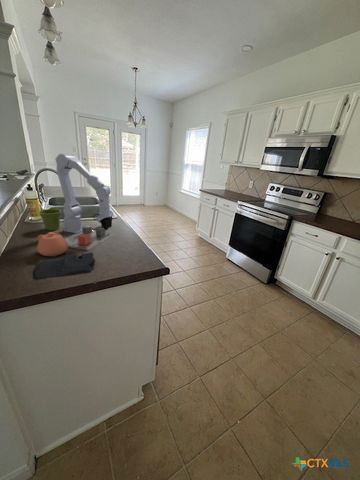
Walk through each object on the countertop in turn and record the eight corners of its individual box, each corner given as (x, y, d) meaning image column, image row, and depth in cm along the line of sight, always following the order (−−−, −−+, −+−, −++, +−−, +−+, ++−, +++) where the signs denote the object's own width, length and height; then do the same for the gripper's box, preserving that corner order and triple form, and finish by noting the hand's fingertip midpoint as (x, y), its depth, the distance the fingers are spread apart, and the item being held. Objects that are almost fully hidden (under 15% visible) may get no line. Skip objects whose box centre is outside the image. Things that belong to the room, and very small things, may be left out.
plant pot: (36, 229, 122) (33, 211, 118) (53, 225, 132) (50, 208, 128) (52, 233, 119) (49, 214, 115) (67, 227, 130) (65, 210, 126)
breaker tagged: (96, 235, 116) (95, 229, 115) (100, 233, 120) (99, 227, 118) (100, 236, 115) (100, 230, 114) (105, 234, 119) (104, 228, 118)
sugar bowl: (55, 260, 89) (52, 239, 86) (28, 255, 91) (24, 234, 88) (74, 249, 100) (72, 230, 97) (50, 245, 103) (46, 226, 99)
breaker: (82, 233, 118) (82, 227, 116) (87, 231, 121) (86, 225, 120) (87, 234, 117) (86, 228, 116) (91, 232, 121) (91, 226, 119)
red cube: (78, 244, 103) (77, 236, 102) (83, 241, 107) (83, 233, 105) (85, 245, 102) (84, 237, 101) (90, 242, 106) (89, 234, 104)
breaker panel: (57, 244, 104) (56, 241, 103) (87, 231, 126) (87, 228, 125) (87, 250, 101) (87, 246, 100) (113, 235, 123) (113, 232, 122)
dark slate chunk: (38, 263, 87) (36, 253, 85) (93, 256, 96) (93, 247, 94) (32, 281, 74) (29, 270, 72) (96, 272, 83) (95, 262, 82)
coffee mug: (115, 225, 142) (114, 211, 138) (110, 228, 134) (109, 214, 130) (99, 223, 143) (98, 209, 139) (93, 227, 135) (92, 212, 131)
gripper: (103, 210, 109) (104, 234, 114) (117, 206, 123) (117, 227, 128) (91, 209, 111) (93, 232, 116) (106, 204, 124) (108, 225, 129)
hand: (105, 229), depth 122 cm, fingers closed
